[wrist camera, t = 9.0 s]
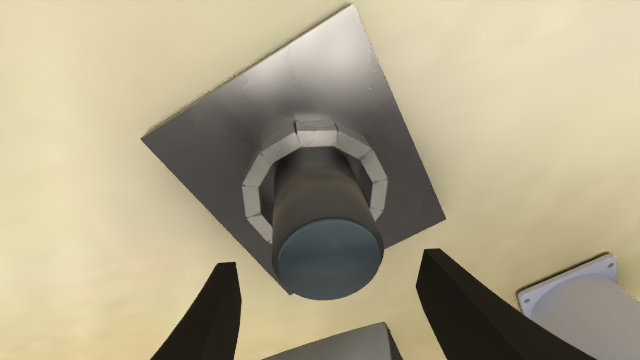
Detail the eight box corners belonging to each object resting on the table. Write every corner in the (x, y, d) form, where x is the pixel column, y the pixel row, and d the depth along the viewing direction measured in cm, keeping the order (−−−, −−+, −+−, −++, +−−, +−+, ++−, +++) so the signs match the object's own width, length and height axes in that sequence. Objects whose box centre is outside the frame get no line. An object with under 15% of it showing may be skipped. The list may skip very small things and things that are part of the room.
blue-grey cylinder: (358, 146, 17) (398, 218, 11) (347, 213, 19) (375, 302, 13) (275, 142, 16) (272, 216, 11) (273, 212, 18) (270, 305, 13)
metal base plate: (439, 210, 21) (457, 233, 19) (289, 284, 23) (290, 313, 21) (349, 3, 14) (361, 3, 12) (147, 131, 16) (127, 151, 14)
